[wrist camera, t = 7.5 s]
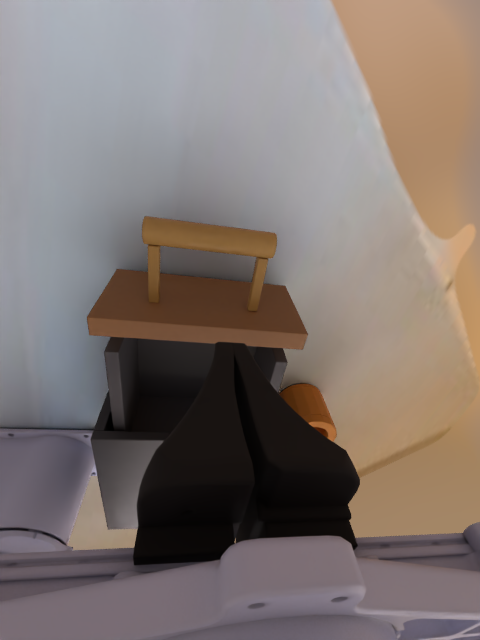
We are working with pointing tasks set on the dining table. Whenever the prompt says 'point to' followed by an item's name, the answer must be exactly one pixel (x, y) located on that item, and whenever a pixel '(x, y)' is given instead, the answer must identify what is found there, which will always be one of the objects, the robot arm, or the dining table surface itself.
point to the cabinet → (121, 467)
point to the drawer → (187, 324)
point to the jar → (310, 408)
